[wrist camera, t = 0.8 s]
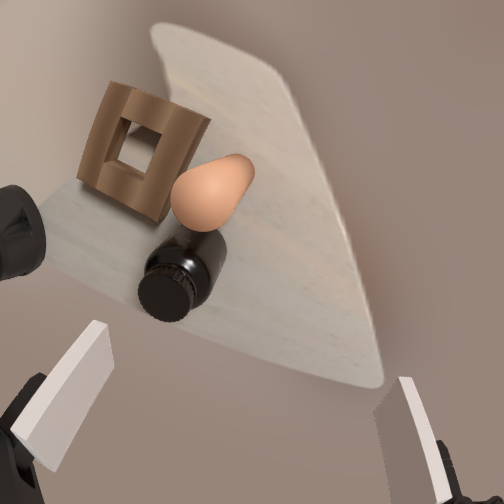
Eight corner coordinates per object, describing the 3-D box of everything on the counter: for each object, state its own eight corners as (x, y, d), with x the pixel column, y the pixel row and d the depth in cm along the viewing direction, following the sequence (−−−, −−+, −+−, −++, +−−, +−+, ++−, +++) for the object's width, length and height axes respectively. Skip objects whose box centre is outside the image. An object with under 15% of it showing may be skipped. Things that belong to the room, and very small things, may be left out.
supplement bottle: (235, 267, 34) (213, 329, 23) (183, 277, 36) (145, 336, 25) (218, 212, 32) (185, 254, 21) (164, 226, 33) (114, 270, 22)
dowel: (211, 180, 31) (161, 213, 18) (227, 147, 29) (185, 156, 16) (243, 196, 31) (216, 242, 18) (261, 164, 29) (245, 186, 17)
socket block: (90, 173, 31) (76, 177, 29) (123, 84, 27) (110, 80, 24) (167, 214, 33) (157, 222, 30) (211, 119, 28) (203, 117, 25)
